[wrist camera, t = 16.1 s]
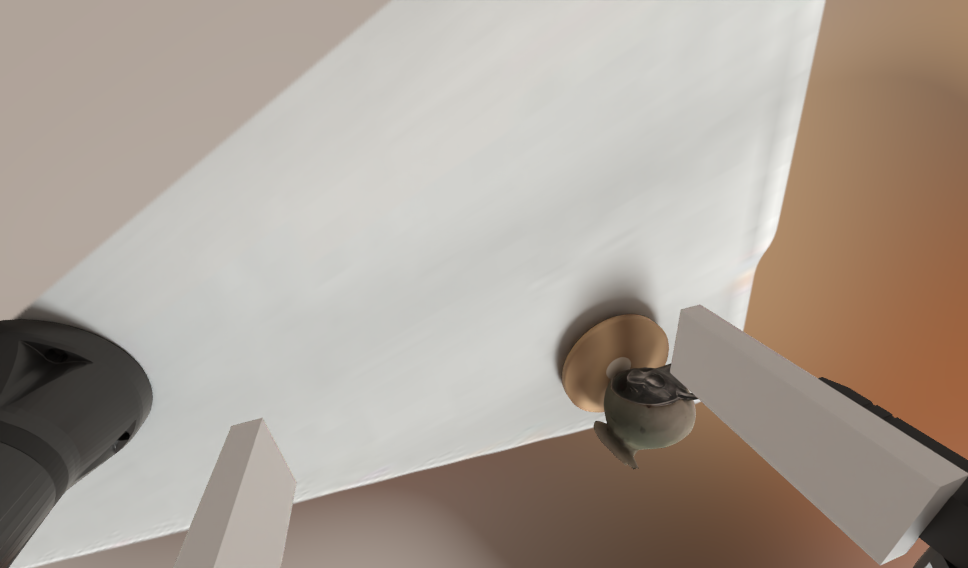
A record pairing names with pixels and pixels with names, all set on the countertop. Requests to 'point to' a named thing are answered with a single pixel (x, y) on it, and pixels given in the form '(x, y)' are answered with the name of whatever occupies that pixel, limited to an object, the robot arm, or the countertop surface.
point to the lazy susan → (611, 357)
